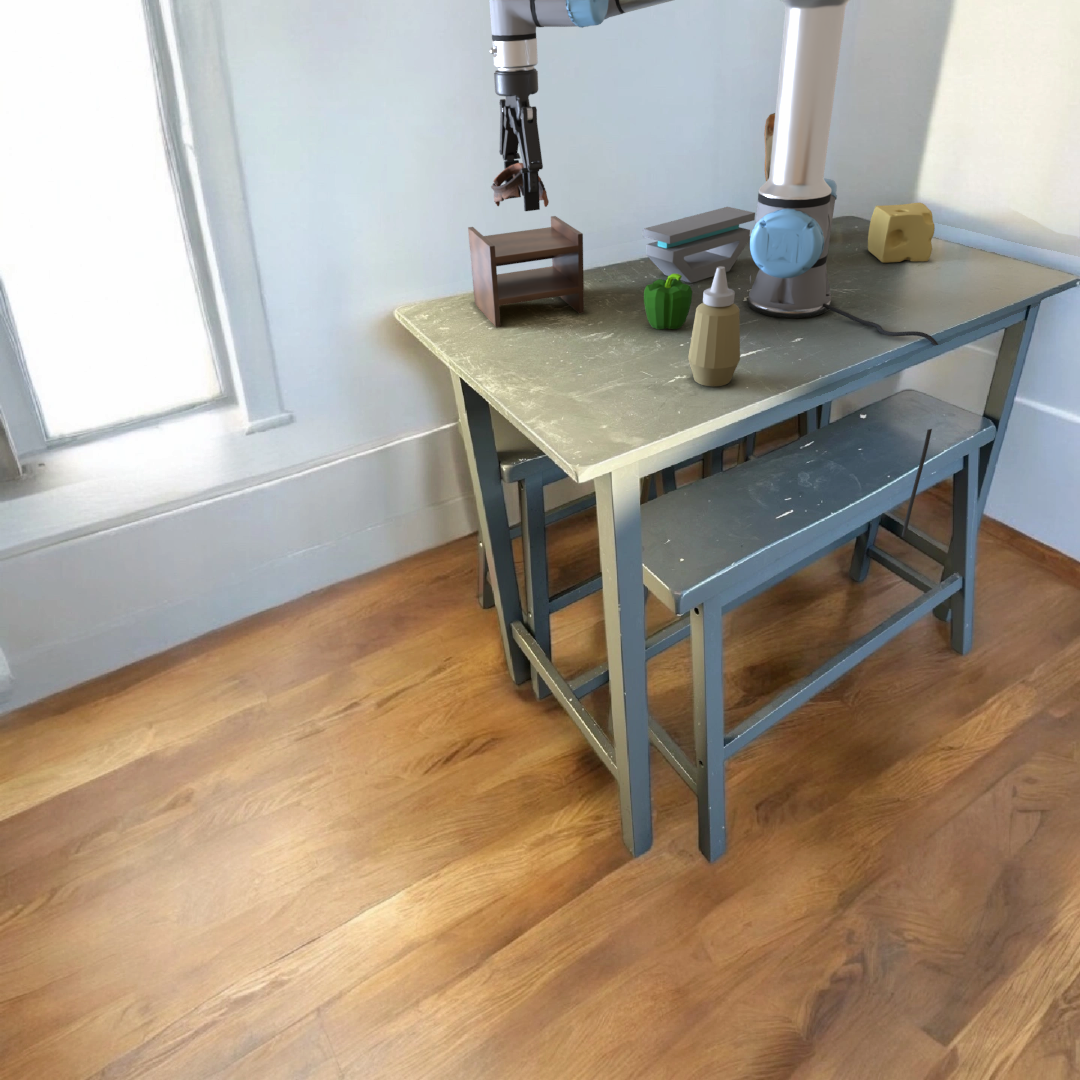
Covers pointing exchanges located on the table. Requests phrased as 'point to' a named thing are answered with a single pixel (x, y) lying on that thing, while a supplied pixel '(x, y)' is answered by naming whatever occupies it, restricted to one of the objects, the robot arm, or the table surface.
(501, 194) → the pottery mug
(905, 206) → the cheese
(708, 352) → the squeeze bottle
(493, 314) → the shelf
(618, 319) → the table surface
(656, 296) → the bell pepper
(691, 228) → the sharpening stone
